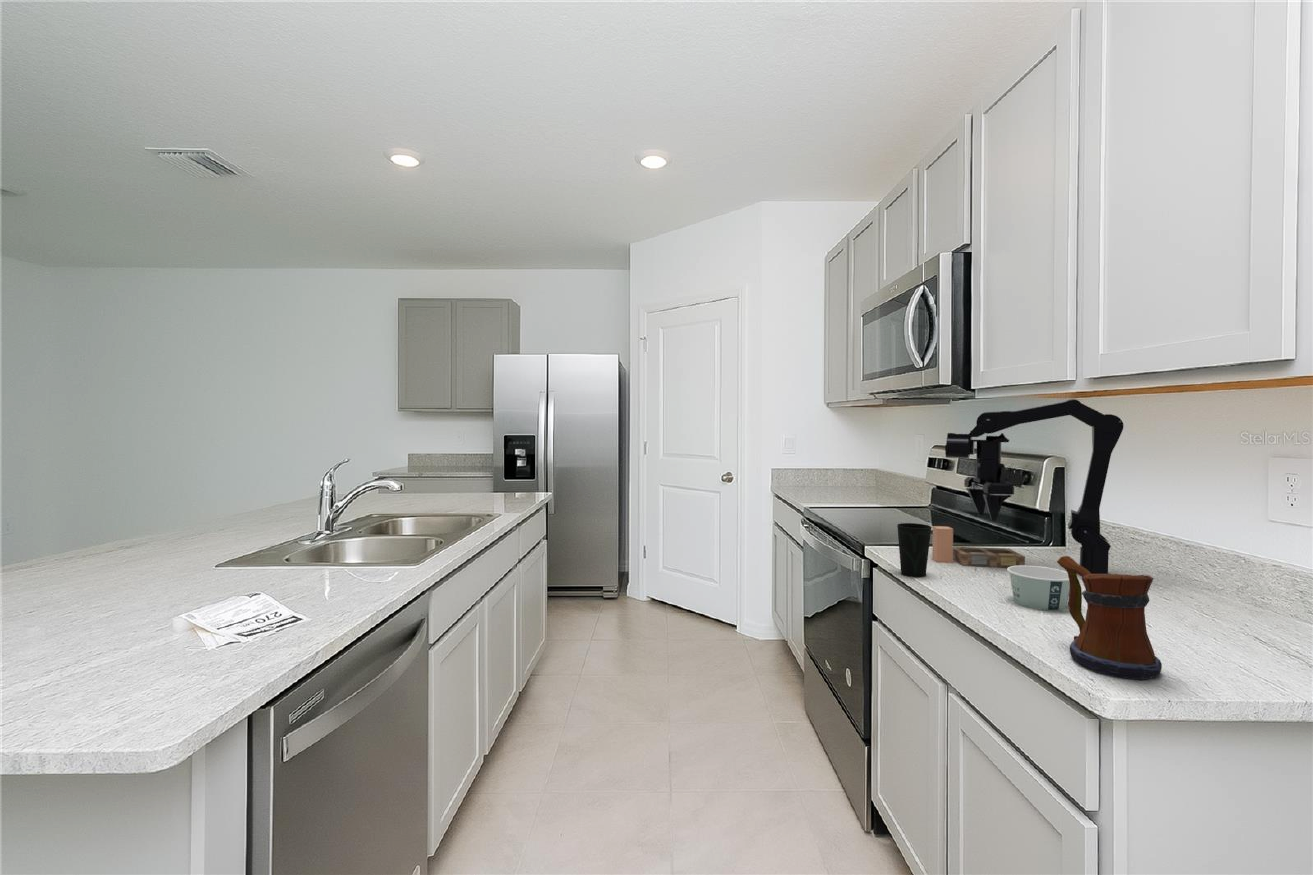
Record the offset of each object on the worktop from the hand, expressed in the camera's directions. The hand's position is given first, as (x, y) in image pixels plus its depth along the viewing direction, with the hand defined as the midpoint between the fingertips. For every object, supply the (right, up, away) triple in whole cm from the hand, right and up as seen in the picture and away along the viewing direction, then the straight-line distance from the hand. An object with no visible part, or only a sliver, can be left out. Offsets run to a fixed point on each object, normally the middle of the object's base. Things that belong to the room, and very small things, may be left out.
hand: (987, 517), depth 161 cm
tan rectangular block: (-11, -12, +2) cm, 16 cm away
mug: (-17, -14, -65) cm, 68 cm away
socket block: (0, -12, 0) cm, 12 cm away
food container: (-9, -13, -36) cm, 39 cm away
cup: (-25, -12, -13) cm, 31 cm away
